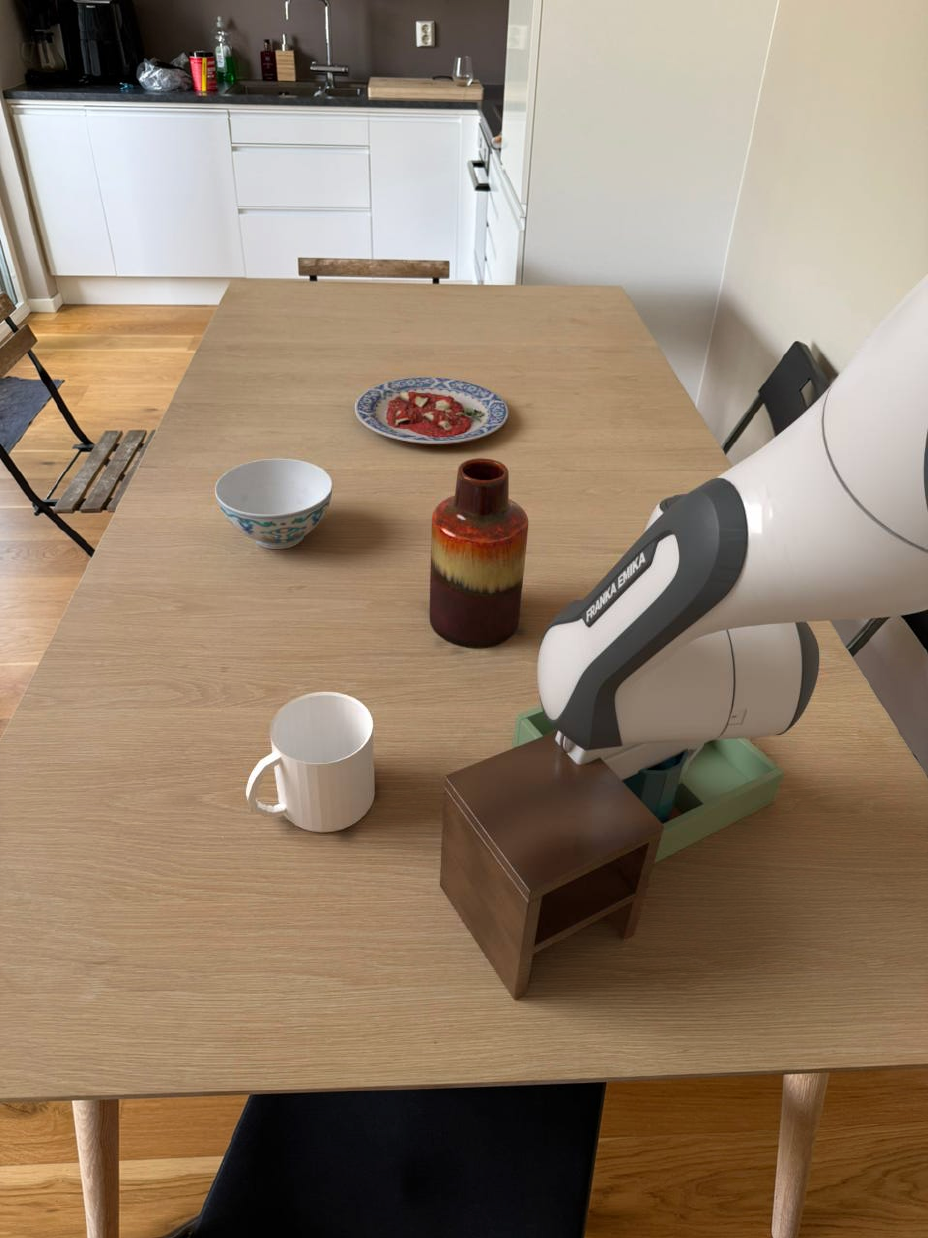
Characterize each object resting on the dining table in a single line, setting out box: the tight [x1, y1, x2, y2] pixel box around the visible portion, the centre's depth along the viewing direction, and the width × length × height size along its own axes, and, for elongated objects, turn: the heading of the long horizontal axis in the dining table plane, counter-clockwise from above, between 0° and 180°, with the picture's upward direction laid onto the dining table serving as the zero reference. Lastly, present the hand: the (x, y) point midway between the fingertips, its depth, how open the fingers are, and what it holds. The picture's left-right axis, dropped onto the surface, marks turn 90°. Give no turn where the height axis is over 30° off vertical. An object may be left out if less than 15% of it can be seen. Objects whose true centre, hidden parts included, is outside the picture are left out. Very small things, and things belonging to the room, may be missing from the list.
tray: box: [512, 705, 786, 864], centre depth 87 cm, size 18×18×4 cm
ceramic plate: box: [354, 376, 509, 445], centre depth 150 cm, size 26×26×3 cm
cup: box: [622, 749, 689, 824], centre depth 81 cm, size 7×7×9 cm
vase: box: [429, 457, 529, 649], centre depth 101 cm, size 11×11×20 cm
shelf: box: [439, 730, 664, 1000], centre depth 71 cm, size 12×12×14 cm
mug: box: [245, 691, 376, 834], centre depth 81 cm, size 12×9×9 cm
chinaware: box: [214, 458, 334, 550], centre depth 118 cm, size 15×15×8 cm
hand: (640, 787), depth 81 cm, fingers closed on cup, 6 cm apart
